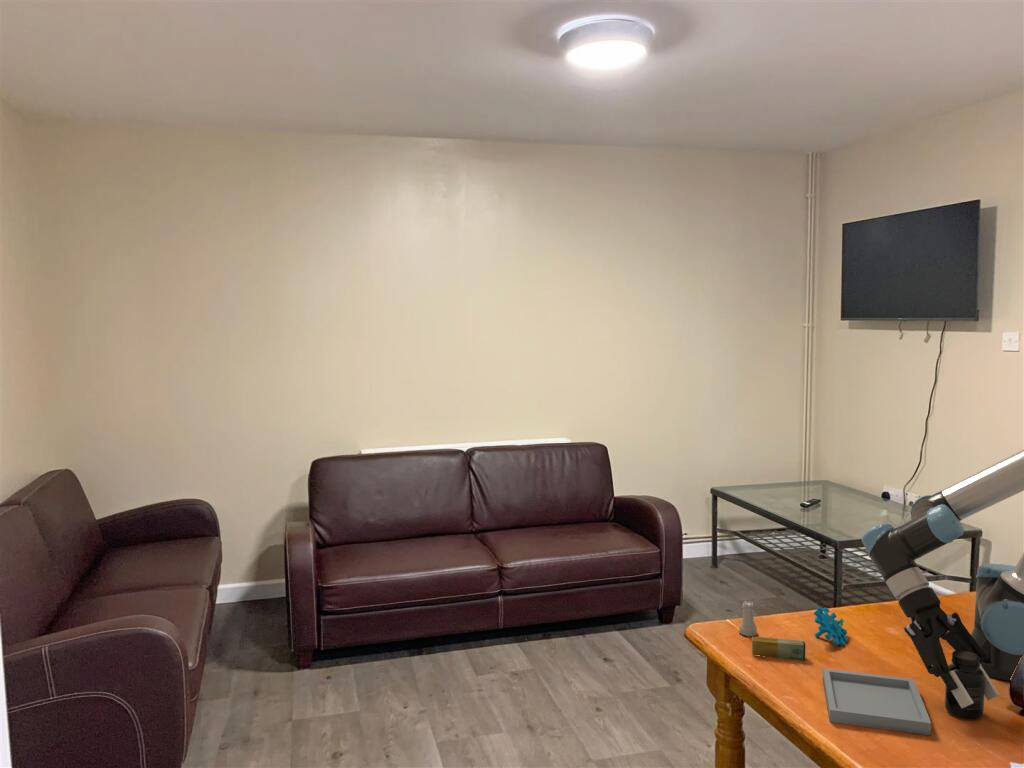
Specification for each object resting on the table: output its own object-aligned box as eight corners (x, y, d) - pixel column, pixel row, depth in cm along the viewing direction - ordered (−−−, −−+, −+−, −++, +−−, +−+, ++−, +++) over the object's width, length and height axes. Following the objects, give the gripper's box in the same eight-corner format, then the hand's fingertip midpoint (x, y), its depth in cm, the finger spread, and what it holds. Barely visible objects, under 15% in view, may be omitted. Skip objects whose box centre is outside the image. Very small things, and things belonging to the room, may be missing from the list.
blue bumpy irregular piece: (835, 646, 185) (811, 607, 190) (817, 657, 188) (793, 619, 193) (858, 639, 192) (834, 602, 197) (840, 650, 195) (817, 613, 200)
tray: (913, 690, 167) (913, 679, 167) (930, 735, 150) (931, 723, 150) (822, 679, 173) (822, 668, 172) (829, 721, 156) (830, 709, 155)
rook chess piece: (753, 629, 199) (754, 598, 198) (759, 637, 194) (760, 605, 193) (736, 629, 199) (736, 599, 198) (742, 637, 194) (742, 606, 193)
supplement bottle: (983, 708, 159) (986, 652, 158) (983, 724, 154) (986, 666, 152) (944, 700, 163) (947, 644, 162) (943, 715, 157) (946, 658, 156)
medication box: (804, 657, 184) (805, 640, 183) (805, 662, 181) (806, 645, 181) (751, 651, 187) (751, 635, 187) (751, 656, 184) (751, 640, 184)
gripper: (935, 593, 174) (1001, 697, 161) (868, 608, 167) (932, 718, 154) (958, 578, 169) (1028, 684, 156) (890, 593, 161) (958, 706, 148)
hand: (980, 701), depth 155 cm, fingers closed on supplement bottle, 7 cm apart
